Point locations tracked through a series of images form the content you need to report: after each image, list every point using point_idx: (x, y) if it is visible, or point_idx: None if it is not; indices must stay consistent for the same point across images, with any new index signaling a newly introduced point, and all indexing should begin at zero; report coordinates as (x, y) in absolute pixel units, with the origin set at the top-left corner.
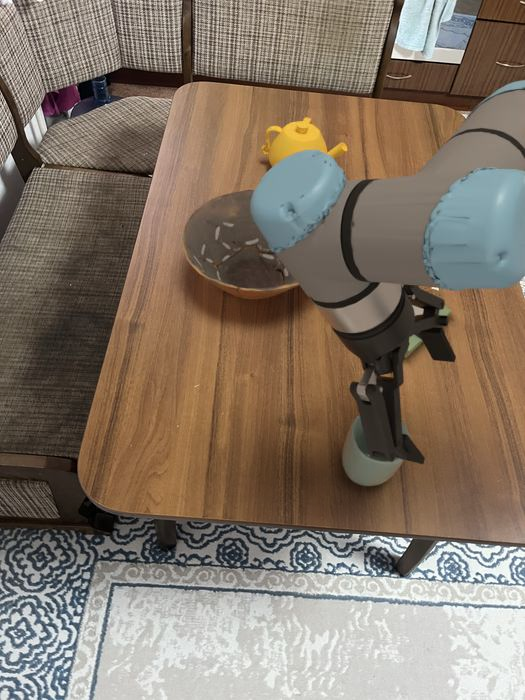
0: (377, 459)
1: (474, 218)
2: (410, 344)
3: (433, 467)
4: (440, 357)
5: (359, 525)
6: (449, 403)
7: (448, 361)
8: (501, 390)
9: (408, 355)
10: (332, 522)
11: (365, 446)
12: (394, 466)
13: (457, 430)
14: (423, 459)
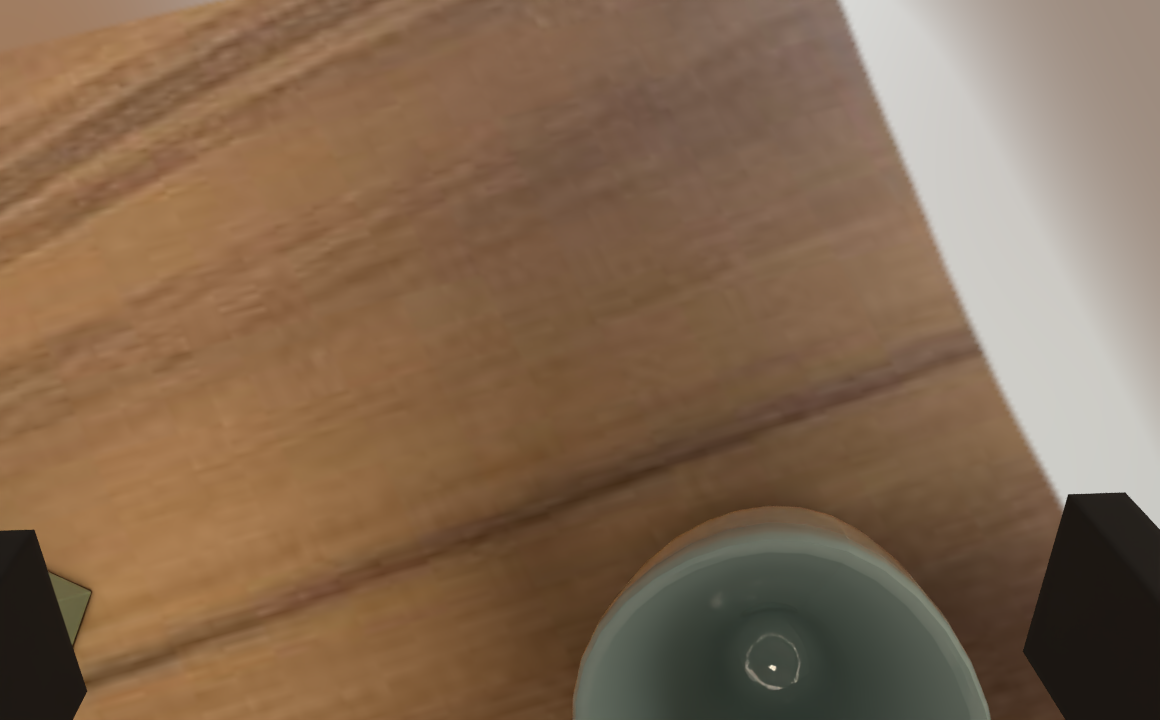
0: (765, 614)
1: None
2: None
3: (612, 311)
4: (36, 674)
5: None
6: (247, 326)
7: (48, 577)
8: (78, 117)
9: (71, 586)
10: None
11: (735, 708)
12: (913, 579)
13: (371, 254)
14: (1105, 510)
